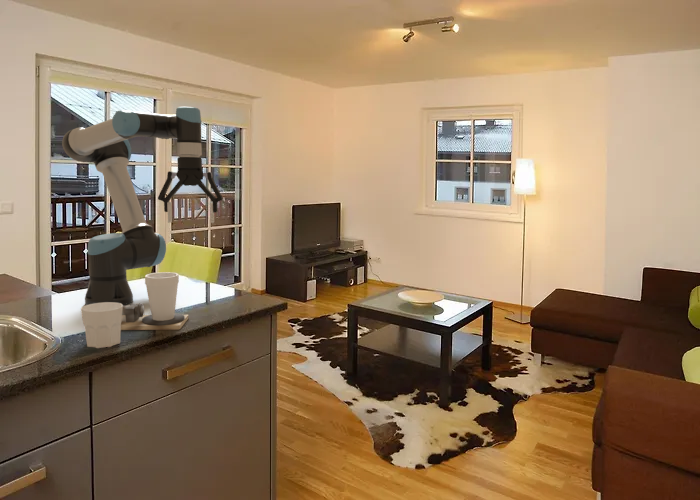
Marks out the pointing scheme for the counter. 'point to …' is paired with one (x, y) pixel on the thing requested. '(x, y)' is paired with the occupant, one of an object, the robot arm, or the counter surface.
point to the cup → (102, 323)
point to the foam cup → (162, 294)
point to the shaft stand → (148, 320)
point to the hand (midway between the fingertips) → (191, 222)
